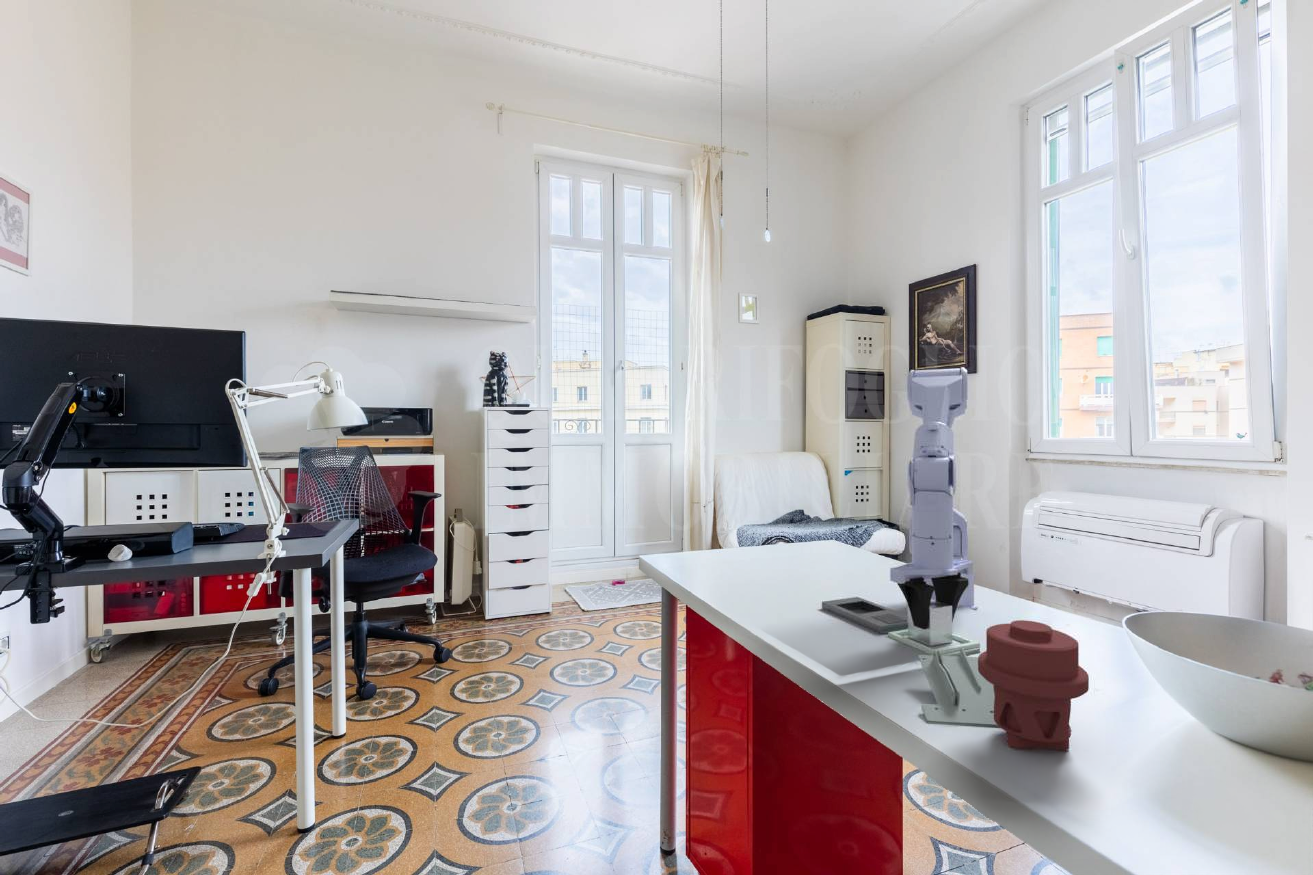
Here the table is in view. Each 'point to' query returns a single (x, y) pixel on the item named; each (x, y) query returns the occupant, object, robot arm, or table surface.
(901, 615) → the plate with square cutouts
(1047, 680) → the mechanical component
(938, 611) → the cube with square inset
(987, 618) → the table surface
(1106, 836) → the table surface
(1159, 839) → the table surface
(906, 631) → the tray
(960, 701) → the metal bracket
